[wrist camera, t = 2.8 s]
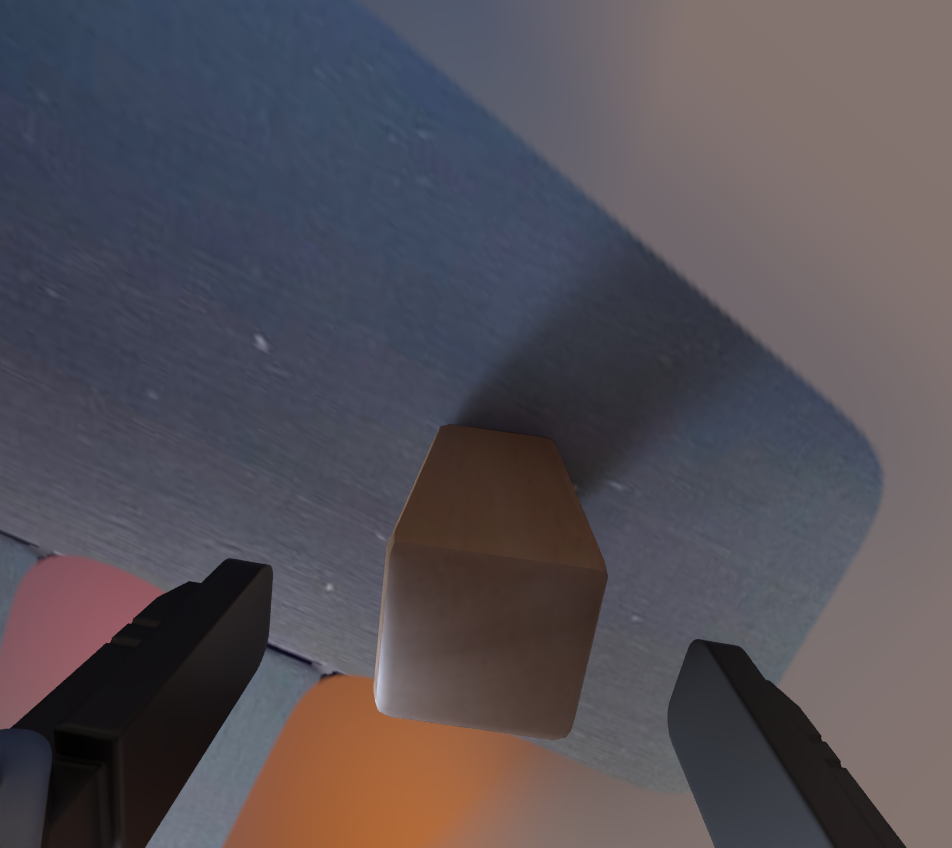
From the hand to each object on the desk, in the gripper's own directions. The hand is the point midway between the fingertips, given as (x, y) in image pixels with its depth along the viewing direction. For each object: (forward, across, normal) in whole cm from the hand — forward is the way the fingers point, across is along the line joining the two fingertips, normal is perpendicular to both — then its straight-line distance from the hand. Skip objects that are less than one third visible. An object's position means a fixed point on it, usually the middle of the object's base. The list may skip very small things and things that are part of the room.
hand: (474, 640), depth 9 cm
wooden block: (+8, 0, 0) cm, 8 cm away
